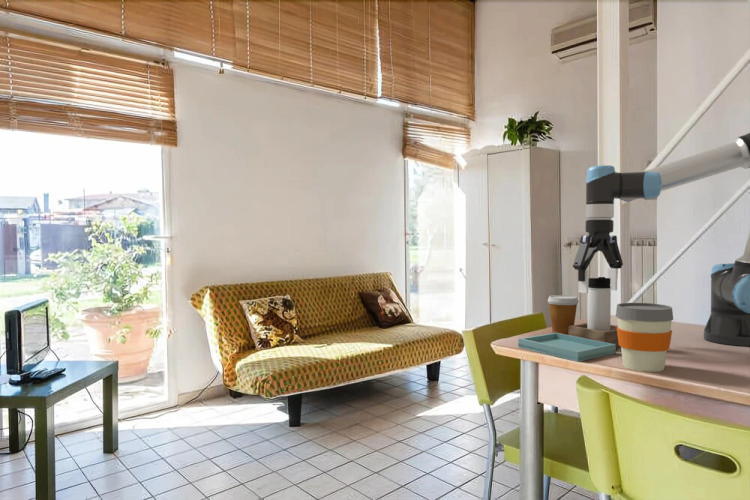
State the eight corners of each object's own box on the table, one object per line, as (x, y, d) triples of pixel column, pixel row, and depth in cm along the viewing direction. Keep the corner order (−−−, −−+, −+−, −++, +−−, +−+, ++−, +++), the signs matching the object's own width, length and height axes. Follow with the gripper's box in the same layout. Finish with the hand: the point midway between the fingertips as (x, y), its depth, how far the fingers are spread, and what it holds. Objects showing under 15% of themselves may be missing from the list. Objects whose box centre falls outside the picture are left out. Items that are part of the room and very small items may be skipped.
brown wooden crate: (630, 344, 152) (630, 327, 151) (604, 350, 145) (604, 332, 145) (593, 337, 162) (593, 321, 162) (568, 342, 155) (568, 326, 155)
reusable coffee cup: (677, 375, 119) (678, 311, 119) (617, 371, 124) (618, 308, 123) (667, 362, 131) (668, 303, 131) (613, 358, 135) (613, 301, 135)
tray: (615, 353, 141) (615, 344, 141) (577, 361, 133) (577, 352, 133) (555, 340, 158) (555, 332, 158) (518, 347, 150) (518, 338, 150)
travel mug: (590, 345, 151) (590, 277, 150) (585, 341, 157) (585, 275, 157) (613, 346, 150) (613, 277, 149) (607, 341, 156) (607, 275, 155)
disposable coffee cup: (580, 336, 164) (581, 298, 163) (549, 335, 165) (549, 298, 165) (575, 331, 173) (575, 295, 172) (545, 330, 175) (545, 294, 174)
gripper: (613, 219, 162) (612, 287, 163) (560, 218, 149) (559, 292, 150) (636, 219, 155) (635, 290, 156) (583, 218, 142) (581, 295, 143)
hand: (598, 291), depth 153 cm, fingers open, 13 cm apart
